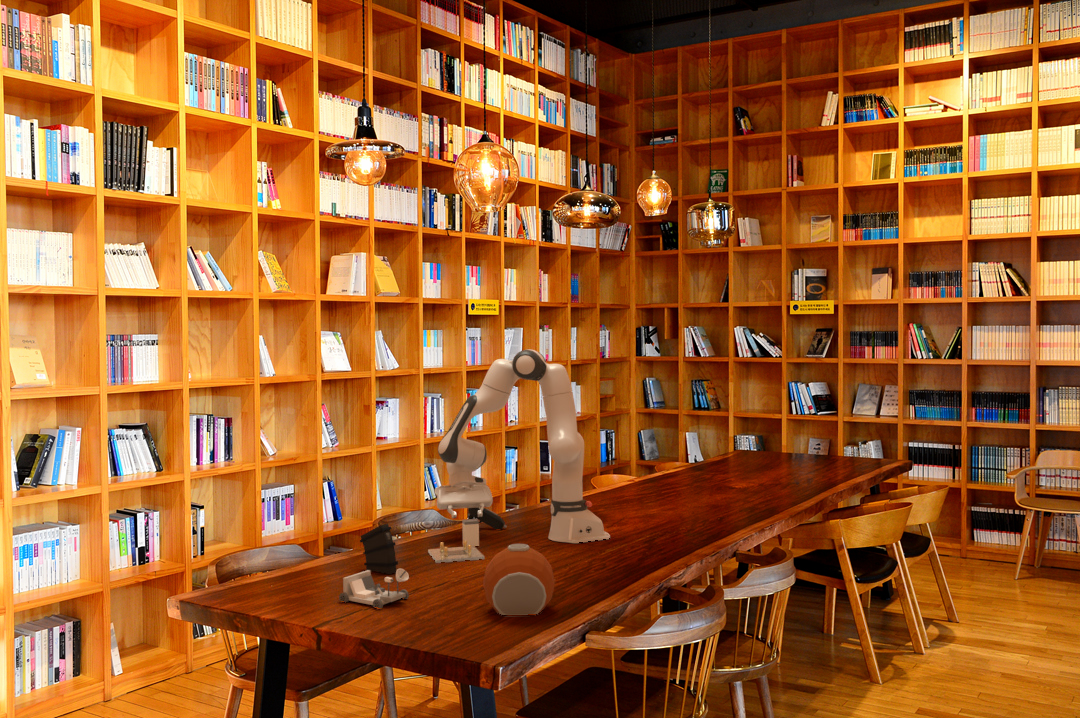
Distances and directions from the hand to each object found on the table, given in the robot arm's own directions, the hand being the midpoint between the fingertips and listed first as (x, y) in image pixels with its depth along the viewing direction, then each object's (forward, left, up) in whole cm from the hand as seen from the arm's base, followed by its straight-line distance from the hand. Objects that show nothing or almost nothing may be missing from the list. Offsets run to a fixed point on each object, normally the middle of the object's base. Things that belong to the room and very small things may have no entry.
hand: (467, 516), depth 319 cm
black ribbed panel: (+35, +30, -10) cm, 47 cm away
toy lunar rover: (+39, +63, -10) cm, 75 cm away
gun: (-12, -21, -10) cm, 26 cm away
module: (0, +5, -10) cm, 11 cm away
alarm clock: (+4, +84, -10) cm, 84 cm away
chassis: (+8, +18, -9) cm, 22 cm away
